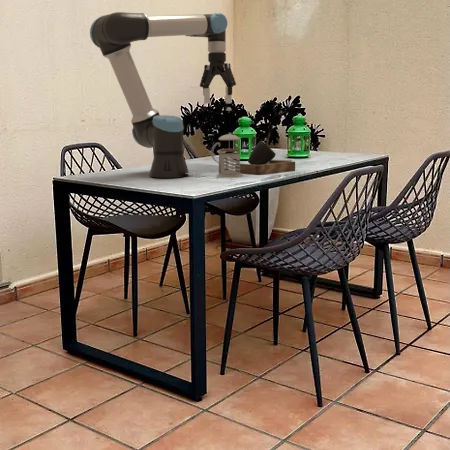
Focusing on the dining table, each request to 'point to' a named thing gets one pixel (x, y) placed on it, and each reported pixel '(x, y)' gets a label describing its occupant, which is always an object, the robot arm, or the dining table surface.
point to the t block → (280, 160)
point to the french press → (224, 170)
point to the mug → (261, 154)
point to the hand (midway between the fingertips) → (217, 103)
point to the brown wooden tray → (268, 167)
